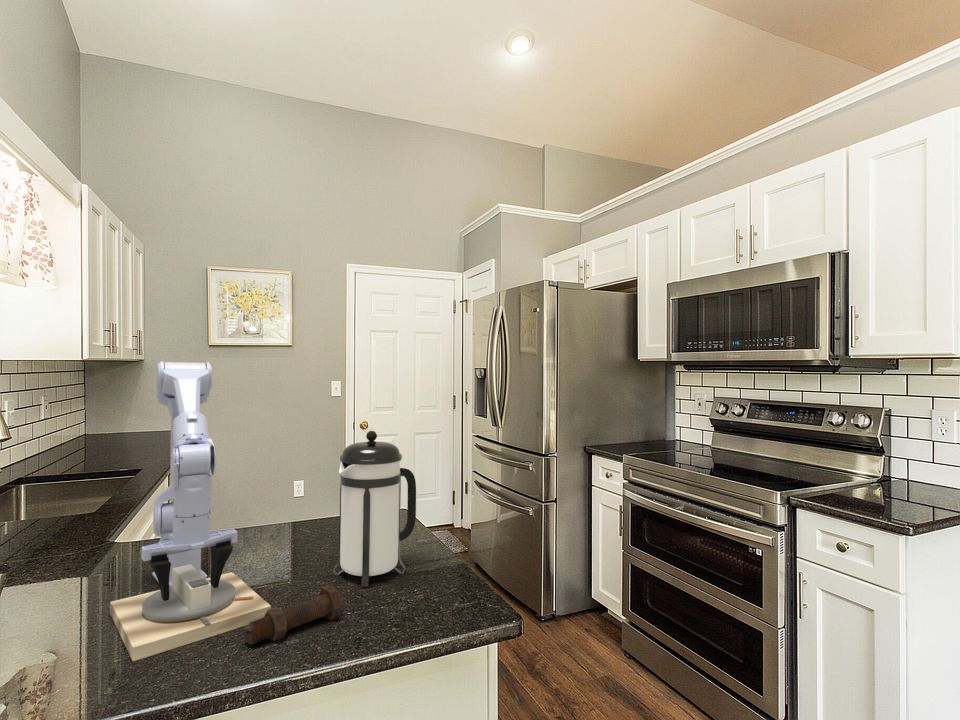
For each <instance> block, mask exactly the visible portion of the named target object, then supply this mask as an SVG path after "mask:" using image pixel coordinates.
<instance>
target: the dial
mask: <svg viewBox="0 0 960 720" xmlns="http://www.w3.org/2000/svg"><path fill="white" fill-rule="evenodd" d="M159 590H160V589H159ZM169 594H170V595H169V600H167V601H164V600H163V599H162V598H161V590H160V591H158V592H156V593H154V594H152V595H151V596H149V597H148V598H147V599H146V600H145V601H144V602H143V604H142V614H143V616H144V617H145V618H147V619H149V620H153V621H159V622H175V621H184V620H190V619H194V618H199V617H202V616H205V615H209V614H211V613H214V612H216V611H218V610H220V609H222V608H224V607H226V606H227V605H228V604H230V603H231V602H232V601H233V599H234V598H235V587H234V586H233V585H232V584H231V583H229V582H225V581H219V586H218V587H217V588H213V587H212V586H211V580H206V578H204V577H203V576H202V575H201V574H200V573H199V572H198V571H197V570H196V569H195V568H194V567H193V566H192V565H191V564H189V565H185V566H180V567H176V568H172V586H171V587H169Z"/></svg>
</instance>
